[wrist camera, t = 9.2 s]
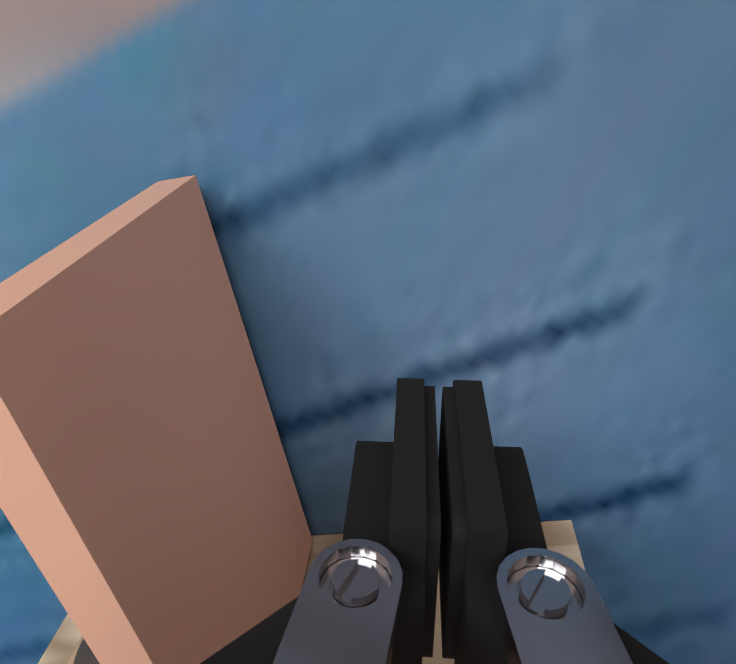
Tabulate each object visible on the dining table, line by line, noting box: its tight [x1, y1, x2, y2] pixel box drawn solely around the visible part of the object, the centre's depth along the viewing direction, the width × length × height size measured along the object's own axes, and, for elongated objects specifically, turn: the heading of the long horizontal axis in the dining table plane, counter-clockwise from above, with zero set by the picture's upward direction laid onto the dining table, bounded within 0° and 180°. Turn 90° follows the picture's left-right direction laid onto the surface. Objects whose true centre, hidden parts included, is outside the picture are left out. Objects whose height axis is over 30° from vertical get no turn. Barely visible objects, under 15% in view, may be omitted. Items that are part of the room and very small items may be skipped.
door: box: [0, 175, 312, 664], centre depth 17 cm, size 15×2×10 cm, turn 11°
